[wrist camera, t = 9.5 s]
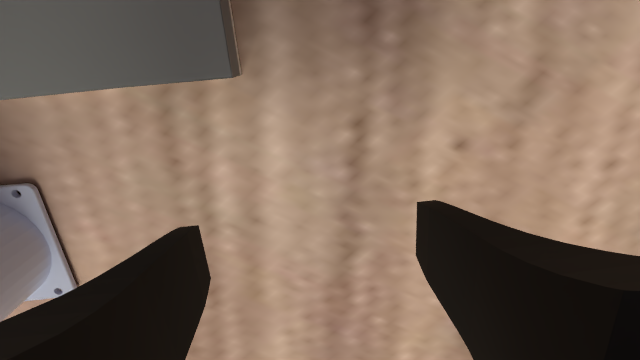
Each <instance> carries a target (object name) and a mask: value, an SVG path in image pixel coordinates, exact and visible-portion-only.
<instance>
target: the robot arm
mask: <svg viewBox="0 0 640 360" xmlns="http://www.w3.org/2000/svg"><path fill="white" fill-rule="evenodd" d="M17 190H18V191H19V192H20V193H21V195H19V194H18V193H17ZM416 256H417V259H418V261H419V264H420V266H421V269H422V271H423V273H424V275H425V278H426V280H427V281H428V283H429V285H430V287H431V288H432V290H433V292H434V293H435V295H436V296H437V298H438V300H439V301H440V303H441V305H442V306H443V308H444V309H445V311H446V313H447V314H448V316H449V317H450V319H451V321H452V322H453V324H454V326H455V327H456V329H457V330H458V332H459V334H460V335H461V337H462V339H463V340H464V342H465V344H466V346H467V348H468V349H469V351H470V353H471V355H472V358H473V360H640V256H634V255H627V254H621V253H614V252H608V251H603V250H597V249H592V248H587V247H582V246H577V245H572V244H568V243H563V242H559V241H555V240H552V239H548V238H544V237H540V236H536V235H533V234H530V233H526V232H523V231H520V230H517V229H514V228H511V227H508V226H505V225H502V224H499V223H496V222H494V221H491V220H488V219H486V218H483V217H480V216H478V215H475V214H473V213H470V212H468V211H465V210H463V209H460V208H458V207H455V206H452V205H450V204H447V203H444V202H441V201H436V200H433V201H423V202H417V230H416ZM210 280H211V277H210V272H209V268H208V264H207V260H206V255H205V251H204V247H203V243H202V238H201V234H200V230H199V225H197V226H188V227H179V228H177V229H175V230H173V231H171V232H169V233H168V234H166V235H164V236H163V237H161V238H159V239H158V240H156V241H155V242H153V243H152V244H150V245H148V246H147V247H145V248H144V249H142V250H141V251H139V252H138V253H136V254H134V255H133V256H131V257H130V258H128V259H126V260H125V261H123V262H121V263H120V264H118V265H116V266H115V267H113V268H111V269H110V270H108V271H106V272H105V273H103V274H101V275H100V276H98V277H96V278H94V279H92V280H90V281H89V282H87V283H85V284H83V285H81V286H79V287H77V285H76V283H75V280H74V278H73V275H72V273H71V270H70V268H69V265H68V263H67V260H66V258H65V256H64V253H63V251H62V248H61V246H60V243H59V241H58V238H57V236H56V233H55V231H54V228H53V226H52V223H51V221H50V219H49V216H48V214H47V211H46V209H45V206H44V204H43V201H42V199H41V196H40V194H39V191H38V189H37V188H36V187H35V186H34V185H33V184H30V183H22V184H12V185H1V186H0V360H185V359H186V356H187V353H188V351H189V348H190V345H191V343H192V340H193V337H194V335H195V332H196V329H197V327H198V324H199V321H200V318H201V316H202V313H203V310H204V307H205V304H206V299H207V295H208V290H209V285H210ZM58 288H60V289H61V290H62V291H61V290H59V289H58ZM49 298H55V299H53V300H50V301H48V302H46V303H44V304H41V305H39V306H37V307H34V308H32V309H30V310H27V311H25V312H23V313H20V314H18V315H16V316H13V317H11V318H9V319H6V320H4V319H5V318H6V317H7V316H8V315H9V314H10V313H12V312H13V311H14V310H15V309H16V308H17V307H18V306H19V305H20V304H21V303H23V302H24V301H31V300H40V299H49ZM3 320H4V321H3Z"/></svg>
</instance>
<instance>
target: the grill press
mask: <svg viewBox="0 0 640 360" xmlns="http://www.w3.org/2000/svg"><path fill="white" fill-rule="evenodd" d="M229 76H231V71H230V65H229V59H228V53H227V47H226V41H225V34H224V28H223V22H222V16H221V10H220V4H219V0H0V100H6V99H16V98H26V97H35V96H45V95H55V94H64V93H74V92H84V91H93V90H103V89H113V88H122V87H132V86H142V85H151V84H161V83H171V82H180V81H190V80H200V79H209V78H219V77H229Z"/></svg>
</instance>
